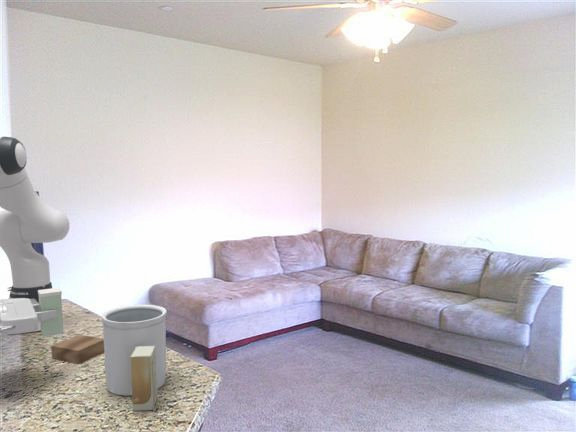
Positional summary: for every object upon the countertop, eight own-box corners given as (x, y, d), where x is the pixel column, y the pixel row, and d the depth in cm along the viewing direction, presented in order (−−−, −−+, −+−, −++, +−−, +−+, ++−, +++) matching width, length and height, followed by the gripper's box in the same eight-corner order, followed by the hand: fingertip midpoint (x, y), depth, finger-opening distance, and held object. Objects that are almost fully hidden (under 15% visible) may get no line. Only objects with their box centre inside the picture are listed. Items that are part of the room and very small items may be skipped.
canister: (42, 336, 123) (39, 294, 122) (40, 331, 127) (37, 290, 126) (63, 333, 125) (61, 291, 124) (61, 328, 129) (58, 287, 128)
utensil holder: (180, 375, 126) (178, 306, 124) (145, 401, 112) (142, 324, 110) (130, 368, 130) (127, 302, 129) (91, 392, 116) (87, 318, 115)
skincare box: (138, 398, 113) (136, 345, 112) (158, 397, 114) (155, 344, 112) (132, 412, 107) (129, 356, 106) (152, 411, 107) (150, 355, 106)
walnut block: (52, 360, 138) (51, 346, 138) (80, 348, 147) (79, 334, 147) (79, 365, 134) (78, 350, 134) (106, 352, 143) (106, 338, 143)
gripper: (-9, 317, 109) (60, 307, 117) (-12, 297, 127) (48, 289, 134) (-7, 345, 110) (61, 333, 117) (-10, 321, 127) (50, 312, 135)
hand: (54, 310), depth 126 cm, fingers closed on canister, 5 cm apart
